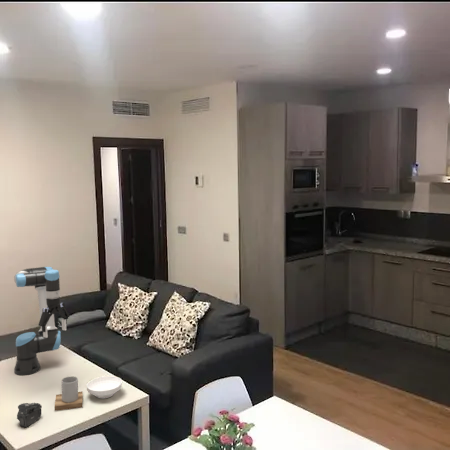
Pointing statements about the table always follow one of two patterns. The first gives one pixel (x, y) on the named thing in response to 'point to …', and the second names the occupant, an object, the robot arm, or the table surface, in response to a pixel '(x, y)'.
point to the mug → (69, 389)
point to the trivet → (63, 405)
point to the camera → (28, 413)
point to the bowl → (104, 386)
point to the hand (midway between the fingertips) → (55, 333)
